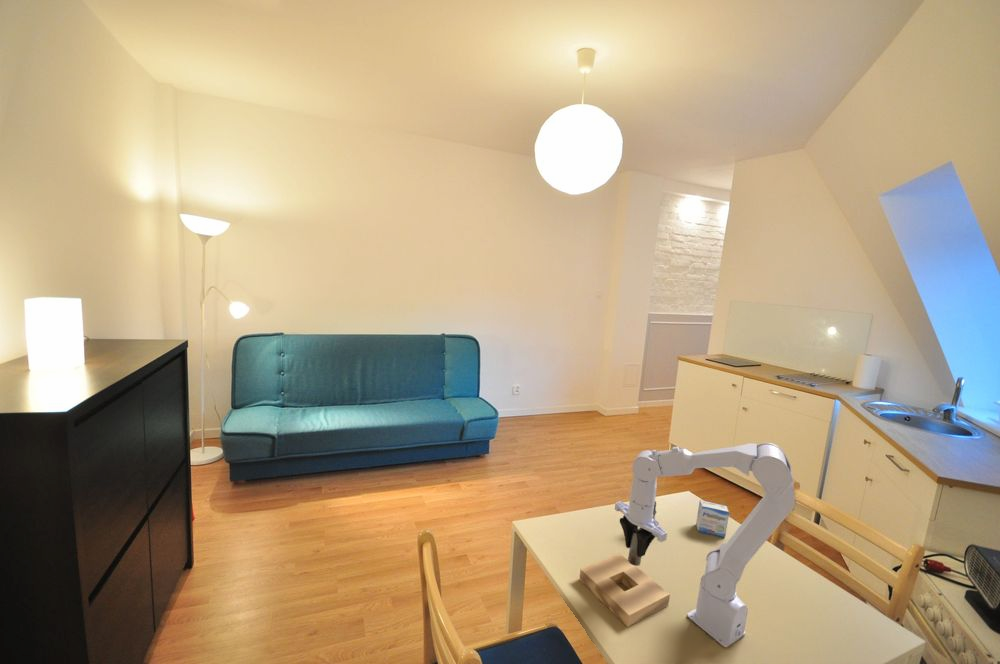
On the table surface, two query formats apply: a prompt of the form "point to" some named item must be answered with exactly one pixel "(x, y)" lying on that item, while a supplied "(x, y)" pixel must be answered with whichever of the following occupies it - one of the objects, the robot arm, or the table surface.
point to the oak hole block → (624, 604)
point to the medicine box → (712, 518)
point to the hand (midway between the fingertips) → (635, 550)
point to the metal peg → (634, 549)
